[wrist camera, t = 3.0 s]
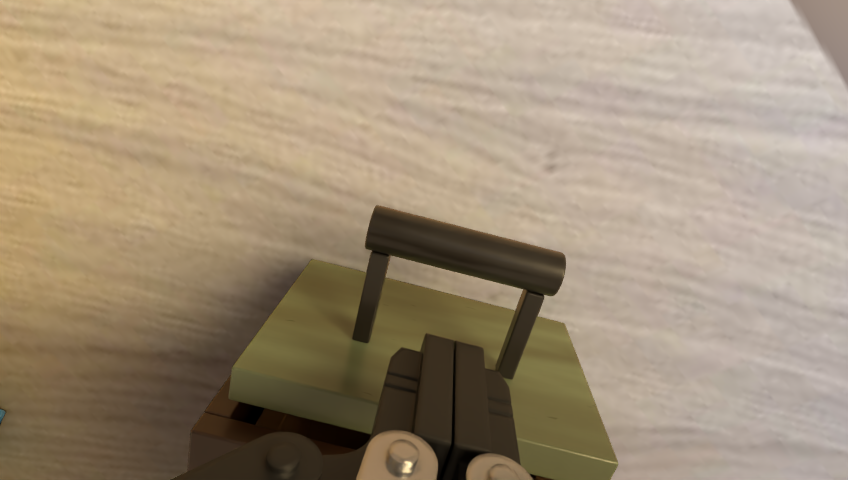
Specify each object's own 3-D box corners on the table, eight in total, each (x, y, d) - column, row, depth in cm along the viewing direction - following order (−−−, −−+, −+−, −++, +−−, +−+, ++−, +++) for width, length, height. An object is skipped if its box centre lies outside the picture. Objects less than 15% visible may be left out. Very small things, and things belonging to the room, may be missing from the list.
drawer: (329, 153, 19) (248, 213, 12) (605, 224, 19) (693, 327, 12) (272, 481, 26) (198, 649, 18) (478, 531, 26) (485, 717, 19)
